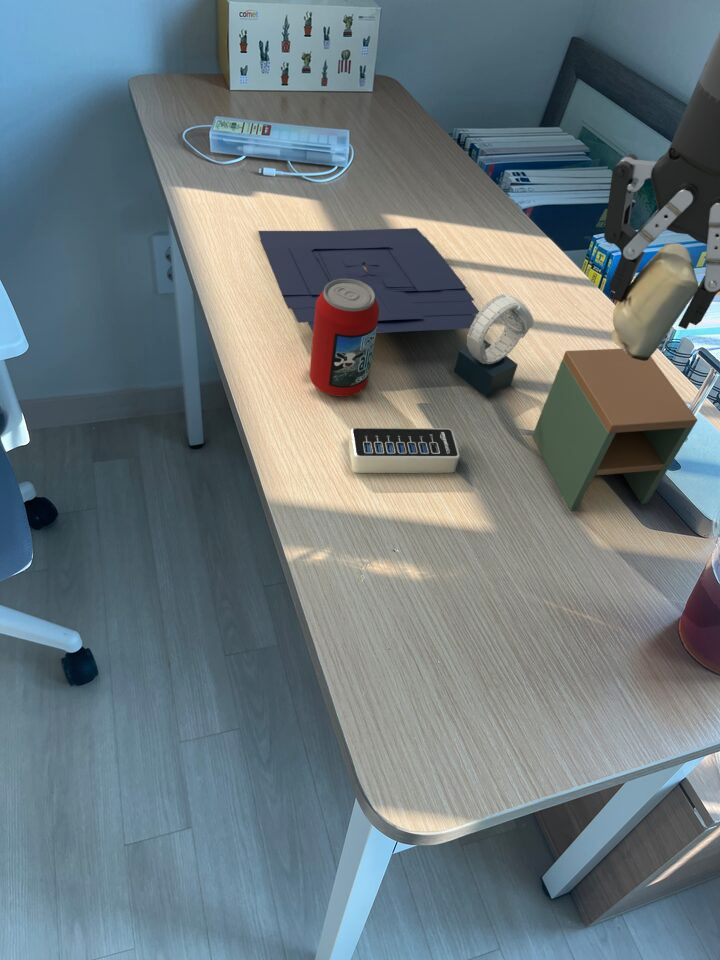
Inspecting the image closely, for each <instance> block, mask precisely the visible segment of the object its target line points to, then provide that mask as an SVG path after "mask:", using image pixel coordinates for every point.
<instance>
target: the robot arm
mask: <svg viewBox="0 0 720 960" xmlns="http://www.w3.org/2000/svg"><path fill="white" fill-rule="evenodd" d="M710 49H711V50H710V52H709V54H708V56H707V59H706V61H705V63H704V66H703V69H702V70H701V72H700V76H699V77H698V80H697V82H696V85H695V87H694V89H693V92H692V94H691V96H690V99H689V100H688V103H687V105H686V108H685V109H684V112H683V115H682V117H681V120H680V122H679V124H678V127H677V129H676V132H675V134H674V135H673V138H672V141H671V144H670V146H669V147H668V150H667V151H666V152H665V154H663V155H662V156H661V157H659V159H657V161H653V160H643V159H639V158H638V156H637V155H636V154H634V153H628V154H625V155H624V156H623V157H622V158H621V159H620V160H619V161H618V163H617V164H615V166H614V167H613V169H612V172H611V179H610V187H609V196H608V202H607V210H606V219H605V226H604V233H603V239H604V241H605V242H606V243H608V244H611V245H615V246H616V247H617V248H618V249H619V251H620V258H619V260H618V263H617V265H616V268H615V269H614V272H613V275H612V276H611V279H610V281H609V291H611V292H613V296H612V298H611V299H612V300H614V301H617V302H618V301H619V302H621V300H622V299H623V297H624V295H625V293H626V291H627V289H628V287H629V286H630V284H631V283H632V282H633V280H634V279H635V278H634V277H636V276H635V275H636V273H637V271H638V269H639V267H640V264H641V262H642V260H643V257H644V256H645V254H646V253H645V252H646V251H645V250H646V249H647V248H648V247H649V245H650V244H652V243H653V242H654V241H655V240H656V239H657V238H659V236H660V235H661V234H662V233H664V231H665V230H667V231H669V232H672V233H675V234H680V235H688V236H689V237H690V238H692V239H694V240H695V241H696V242H699V243H702V244H705V245H706V253H705V263H706V264H705V271H704V273H705V274H704V275H703V277H702V279H701V281H700V283H699V284H698V290H697V292H696V293H695V294H694V296H693V297H692V299H691V300H690V302H689V303H688V305H687V307H686V308H685V309H686V310H685V312H684V313H683V315H682V317H681V319H680V321H679V323H678V325H677V327H679V328H682V329H683V330H687V329H688V327H689V325H690V324H692V325H694V326H697V325H699V324H700V323H701V322H702V321H703V318H704V317H705V315H706V314H707V311H708V310H709V308H710V306H711V304H712V302H713V300H714V299H715V297H716V295H717V294H718V293H719V292H720V31H719V32H718V34H717V36H716V38H715V40H714V42H713V44H712V47H711V48H710ZM649 179H650V181H651V184H652V189H653V193H654V197H655V202H656V206H657V209H656V210H655V211H654V212H653V214H652V215H651V216H650V217H649V218H648V219H647V221H645V223H644V224H643V225H642V226H641V227H639V229H637V230H635V228H633V227H632V226H631V225H630V219H631V213H632V207H633V200H634V195H635V193H636V192H638V191H639V190H640V189H641V188H642V186H643V185H644V184H645V181H646V180H649Z"/></svg>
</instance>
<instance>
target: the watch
mask: <svg viewBox="0 0 720 960" xmlns="http://www.w3.org/2000/svg"><path fill="white" fill-rule="evenodd" d="M474 318H475V319H474V321H473V323H472V325H471V327H470V328H469V331H468V334H467V335H466V346H467V347H465V348H463V349H460V350H459V351H458V354H457V359H456V362H455V366H454V369H453V373H454V374H455V375H457V376H458V377H460V378H461V379H462V380H464V381H465V382H466V383H467V384H468V385H470V386H471V387H472V388H474V389H475V390H476V391H477V392H478V393H480V394H481V395H482V396H484V397H485V398H489V397H490V396H492V395H494V394H496V393H498V392H500V391H502V390H504V389H506V388H508V387H510V386H511V385H512V382H513V380H514V377H515V375H516V371H517V369H518V366H519V364H518V363H517V362H516V361H514V360H512V359H511V358H510V357H508V355H509V354H510V353H511V352H512V351H513V350H514V348H515V347H516V346H517V345H518V343H519V341H520V340H521V339H523V338H524V337H525V336H526V334H527V333H528V332H529V330H530V329H531V328H533V326H534V324H535V320H534V317H533V315H532V313H531V311H530V309H528V307H527V306H526V304H524V303H523V302H522V301H521V300H520V299H519V298H518V297H516V296H515V295H512V294H510V293H499V294H498V295H496V296H495V297H493V298H491V299H490V300H489V301H488V302H487V303H486V304H484V305H483V307H482V308H481V309H480V310H479V313H478V314H476V316H475V317H474ZM499 318H500V319H501V320H502V321H501V322H502V325H503V326H504V328H503V331H502V332H501V333H500V334H499V337H497V339H496V340H495V341H494V342H493V343H492V344H491V343H490V342H489V341H487V340H486V339H485V338H486V336H487V335H486V334H487V333H488V331H489V330H490V328H491V327H492V326H493V325H494V324H495V322H496V321H497V320H499Z"/></svg>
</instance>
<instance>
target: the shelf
mask: <svg viewBox="0 0 720 960" xmlns="http://www.w3.org/2000/svg"><path fill="white" fill-rule="evenodd" d="M697 422H698V418H697V417H696V416H695V414H694V413H693V412H692V410H691V409H690V407H689V406H688V405H687V404H686V402H685V401H684V399H683V397H682V396H681V395H680V394H679V392H678V391H677V390H676V388H675V387H674V386H673V385H672V383H671V381H670V380H669V379H668V377H667V376H666V375H665V374H664V372H663V371H662V369H661V368H660V367H659V365H658V364H657V363H656V361H655V360H654V359H653V357H652V355H651V356H650V358H649V359H648V360H647V361H642V360H638V359H635V358H631V357H630V356H628V355H627V354H626V352H625V351H624V350H623V349H622V348H604V349H603V348H601V349H580V350H578V349H577V350H565V352H564V354H563V357H562V359H561V362H560V364H559V367H558V369H557V372H556V374H555V378H554V380H553V382H552V384H551V387H550V390H549V393H548V395H547V397H546V400H545V403H544V405H543V407H542V409H541V413H540V414H539V417H538V420H537V423H536V425H535V426H534V427H535V428H534V430H533V433H532V435H531V437H532V439H533V441H534V443H535V445H536V447H537V449H538V451H539V453H540V455H541V457H542V459H543V460H544V463H545V464H546V467H547V468H548V470H549V472H550V474H551V476H552V478H553V480H554V481H555V484H556V486H557V488H558V489H559V491H560V493H561V495H562V497H563V499H564V501H565V503H566V506H567V507H568V508H569V511H578V509H579V507H580V505H581V503H582V501H583V500H584V497H585V495H586V493H587V491H588V489H589V488H590V485H591V483H592V481H593V479H594V477H595V476H604V475H616V474H617V475H618V474H622V475H623V476H624V478H625V480H626V482H627V483H628V485H629V487H630V489H631V490H632V491H633V493H634V495H635V496H636V498H637V500H638V501H639V504H641V505H643V504H648V503H649V501H650V500H651V498H652V496H653V494H654V493H655V492H656V490H657V488H658V486H659V485H660V483H661V481H662V480H663V478H664V477H665V475H666V473H667V472H668V470H669V468H670V466H671V465H672V463H673V462H674V460H675V458H676V457H677V455H678V454H679V452H680V450H681V449H682V447H683V445H684V443H685V442H686V440H687V438H688V437H689V436H690V434H691V432H692V430H693V429H694V427H695V425H696V424H697Z"/></svg>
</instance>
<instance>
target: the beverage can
mask: <svg viewBox="0 0 720 960" xmlns="http://www.w3.org/2000/svg"><path fill="white" fill-rule="evenodd" d="M378 316H379V306H378V303H377V301H376V299H375V293H374V291H373V290H372V288H371V287H369V286H368V285H367V284H365V283H363V282H361V281H357V280H353V279H338V280H334V281H331V282H330V283H328V284H327V285H326V286H325V288H324V291H323V292H322V293H321V295H320V296H319V297H318V299H317V301H316V309H315V318H314V329H313V333H312V341H311V351H310V352H311V353H310V366H309V378H310V382H311V383H312V384H313V386H314V387H315V388H317V389H318V390H319V391H321V392H322V393H324V394H327V395H330V396H335V397H350V396H354V395H356V394H358V393H361V392H362V391H364V390H365V388H366V387H367V385H368V381H369V376H370V370H371V365H372V359H373V355H374V347H375V343H376V342H375V341H376V336H377V333H376V330H377V323H378Z"/></svg>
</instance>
